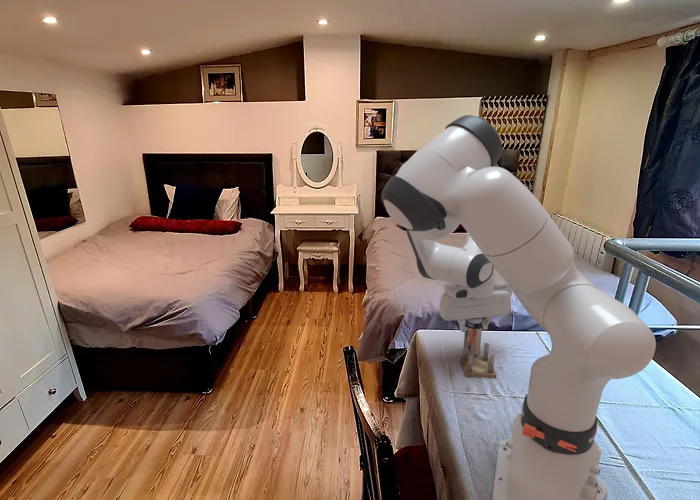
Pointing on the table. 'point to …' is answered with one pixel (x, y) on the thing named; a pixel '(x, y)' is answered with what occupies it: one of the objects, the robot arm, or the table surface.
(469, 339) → the beer can
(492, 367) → the holder
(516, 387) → the table surface
